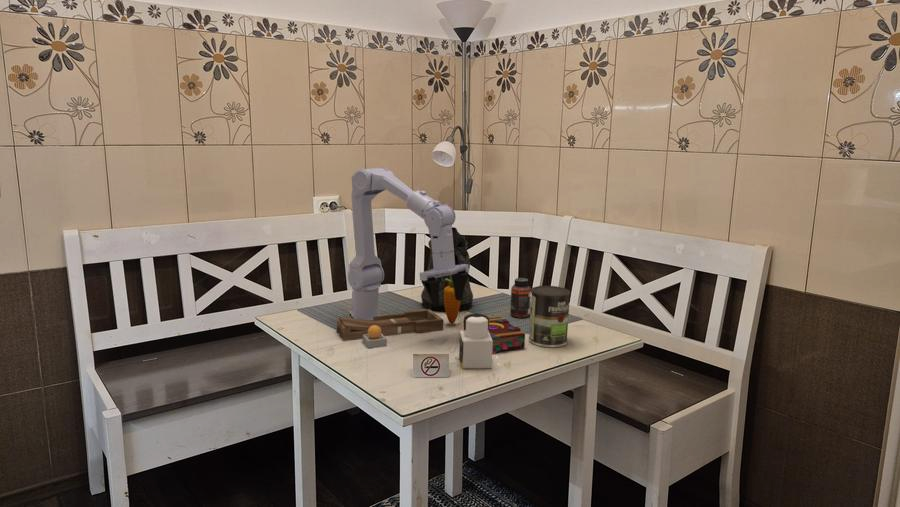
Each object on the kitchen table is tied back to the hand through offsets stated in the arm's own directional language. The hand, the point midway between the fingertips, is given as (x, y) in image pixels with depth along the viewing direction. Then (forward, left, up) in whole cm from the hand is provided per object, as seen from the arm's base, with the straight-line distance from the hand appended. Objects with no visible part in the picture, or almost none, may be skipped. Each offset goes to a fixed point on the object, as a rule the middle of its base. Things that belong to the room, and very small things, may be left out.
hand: (447, 302), depth 160 cm
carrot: (-11, +6, -11) cm, 16 cm away
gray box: (-4, -19, -10) cm, 22 cm away
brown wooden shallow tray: (-13, -12, -10) cm, 20 cm away
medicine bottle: (+17, 0, -11) cm, 20 cm away
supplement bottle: (-12, +29, -11) cm, 33 cm away
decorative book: (+6, +11, -11) cm, 17 cm away
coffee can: (+10, +25, -11) cm, 29 cm away
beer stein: (-28, +13, -11) cm, 32 cm away
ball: (-4, -19, -7) cm, 21 cm away
